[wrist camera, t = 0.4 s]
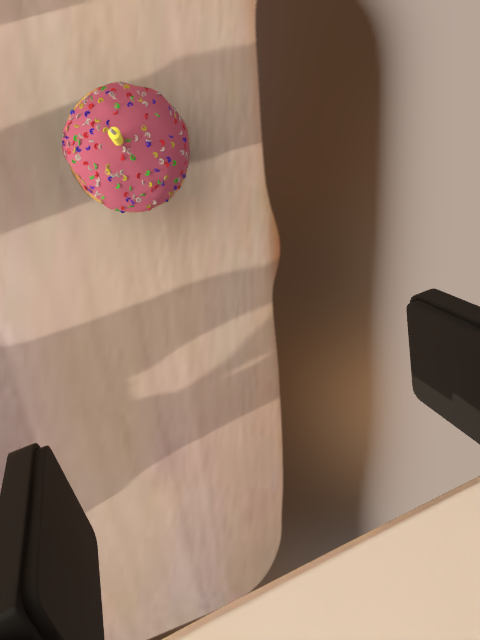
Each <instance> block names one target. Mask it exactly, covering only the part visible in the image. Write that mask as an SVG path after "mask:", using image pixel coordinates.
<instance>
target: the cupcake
mask: <svg viewBox="0 0 480 640" xmlns="http://www.w3.org/2000/svg"><path fill="white" fill-rule="evenodd" d="M62 148H63V153H64V156H65V158H66V160H67V161H68V162H69V165H70V168H71V170H72V173H73V174H74V176H75V178H76V179H77V181H78V182H79V184H80V186H81V187H82V188H83V190H84V191H85V192H86V193H87V194H88V195H89V196H90V197H91V198H93V199H94V200H96V201H98V202H100V203H102V204H104V205H105V206H106V207H107V208H110V209H113V210H116V211H120V212H121V213H124V212H143V211H147V210H151V209H152V208H154V207H156V206H158V205H160V204H162V203H164V202H168V200H169V199H170V198H171V197H172V196H173V195H174V194H175V193H176V192H177V191H178V189H179V188H180V187H181V185H182V183H183V181H184V179H185V177H186V172H187V167H188V164H189V155H190V151H189V134H188V130H187V127H186V125H185V123H184V121H183V120H182V118H181V116H179V114H178V113H177V112H176V108H175V107H172V106H171V105H170V104H169V103H168V101H167V100H166V99H165V98H164V97H163V96H162V95H161V93H159V92H157V91H156V90H154V89H151V88H145V87H139V86H134V85H130V84H126V83H122V82H116V83H111V84H108V85H105V86H102V87H99V88H96V89H94V90H93V91H91V92H89V93H88V94H87V95H86V96H84V97H83V98H82V99H81V100H80V101H79V102H78V103H77V105H76V106H75V107H74V109H73V110H71V114H70V116H69V118H68V121H67V123H66V125H65V127H64V130H63V133H62ZM122 211H124V212H122Z"/></svg>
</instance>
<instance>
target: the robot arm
mask: <svg viewBox="0 0 480 640" xmlns="http://www.w3.org/2000/svg"><path fill="white" fill-rule="evenodd" d="M407 322H408V335H409V346H410V360H411V372H412V385H413V391H414V393H415V395H416V396H417V398H418V399H419V400H420V401H422V402H423V403H424V404H426V405H427V406H428V407H430V408H431V409H432V410H434V411H435V412H437V413H438V414H439V415H441V416H442V417H443V418H445V419H446V420H447V421H449V422H450V423H452V424H453V425H454V426H456V427H457V428H458V429H460V430H461V431H462V432H464V433H465V434H466V435H468V436H469V437H470V438H472V439H473V440H475V441H476V442H477V443H479V444H480V307H479V306H477V305H474V304H472V303H469V302H467V301H465V300H462V299H460V298H457V297H455V296H452V295H450V294H447V293H444V292H442V291H439V290H437V289H430V290H427V291H425V292H422V293H419V294H417V295H415V296H413V297H412V298H411V300H410V303H409V304H408V305H407ZM0 640H104V627H103V614H102V601H101V587H100V574H99V560H98V547H97V540H96V536H95V533H94V530H93V528H92V526H91V524H90V522H89V520H88V519H87V517H86V515H85V513H84V511H83V509H82V507H81V505H80V503H79V501H78V500H77V498H76V496H75V494H74V492H73V490H72V488H71V486H70V484H69V482H68V481H67V479H66V477H65V475H64V473H63V471H62V469H61V467H60V465H59V463H58V461H57V460H56V458H55V456H54V454H53V452H52V450H51V449H50V447H49V446H44V447H42V448H40V446H39V445H38V444H37V443H34V444H32V445H29V446H26V447H24V448H21V449H19V450H16V451H14V452H11V453H9V454H8V457H7V462H6V468H5V473H4V478H3V483H2V489H1V494H0ZM162 640H480V476H479V477H477V478H475V479H473V480H471V481H469V482H467V483H465V484H463V485H461V486H459V487H457V488H455V489H453V490H451V491H449V492H447V493H445V494H443V495H441V496H439V497H437V498H435V499H433V500H431V501H429V502H427V503H425V504H423V505H421V506H419V507H417V508H415V509H413V510H411V511H409V512H407V513H405V514H403V515H401V516H399V517H397V518H395V519H394V520H392V521H389V522H388V523H386V524H384V525H382V526H380V527H378V528H376V529H374V530H372V531H370V532H368V533H366V534H364V535H362V536H360V537H358V538H356V539H354V540H352V541H350V542H348V543H346V544H344V545H342V546H340V547H339V548H336V549H334V550H333V551H331V552H329V553H327V554H325V555H323V556H321V557H319V558H317V559H315V560H313V561H311V562H309V563H307V564H305V565H304V566H301V567H299V568H298V569H296V570H294V571H292V572H290V573H288V574H286V575H284V576H282V577H280V578H278V579H276V580H274V581H272V582H271V583H269V584H266V585H265V586H263V587H261V588H259V589H257V590H255V591H253V592H251V593H249V594H247V595H245V596H243V597H241V598H239V599H237V600H235V601H233V602H232V603H230V604H228V605H226V606H224V607H222V608H220V609H218V610H216V611H214V612H212V613H211V614H209V615H207V616H205V617H203V618H201V619H199V620H198V621H196V622H194V623H192V624H190V625H188V626H186V627H184V628H183V629H181V630H179V631H177V632H175V633H173V634H171V635H170V636H168V637H166V638H164V639H162Z"/></svg>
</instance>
